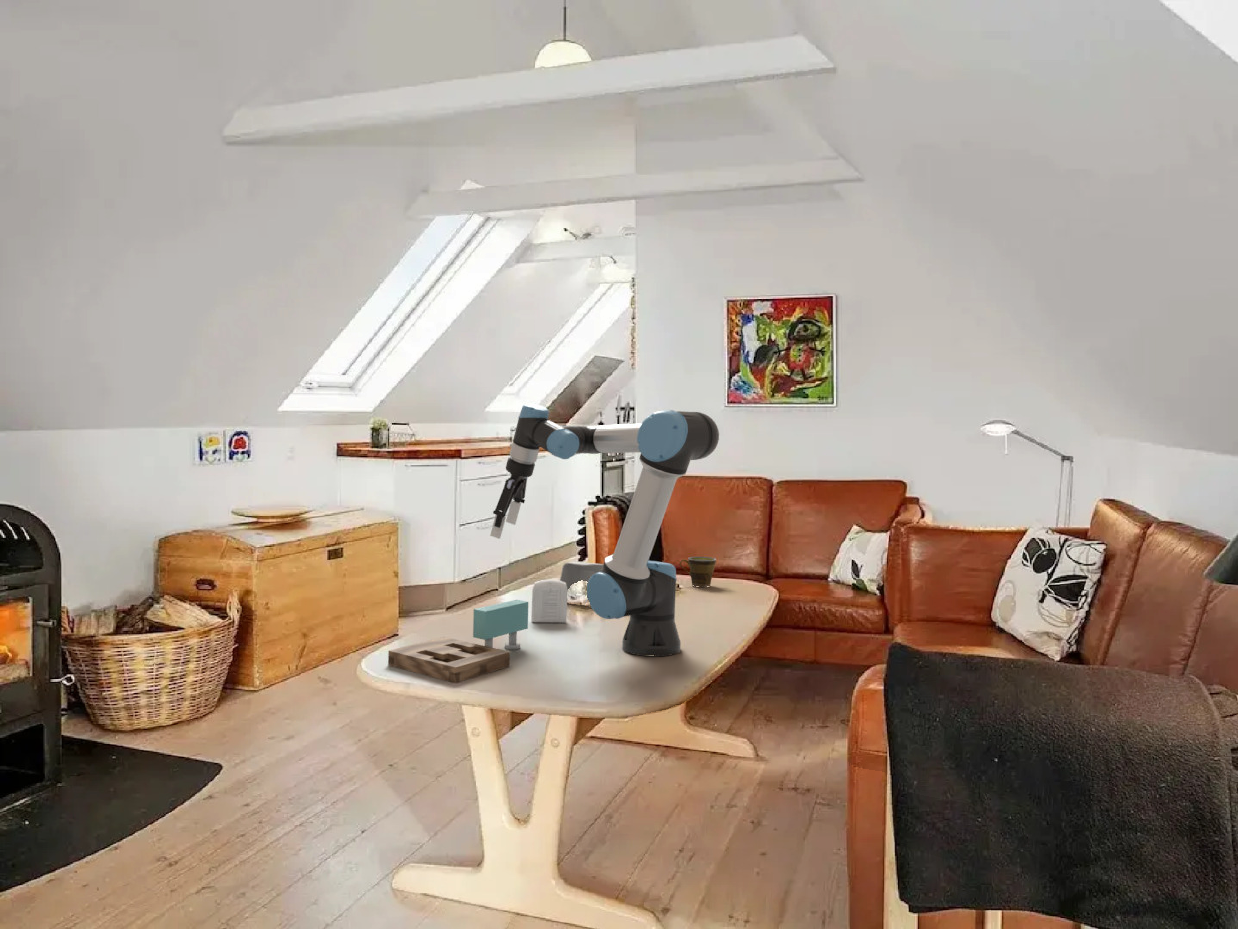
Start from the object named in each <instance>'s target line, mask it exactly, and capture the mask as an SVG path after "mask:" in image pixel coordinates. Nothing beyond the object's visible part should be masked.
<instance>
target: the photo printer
mask: <svg viewBox="0 0 1238 929" xmlns="http://www.w3.org/2000/svg"><path fill="white" fill-rule="evenodd" d="M531 593H532V595H531V596H532V598H531V615H530V616H531V617H530V618H531V620H530V621H531V622H532V623H561V624H562V623H566V622H567V613H568V612H567V611H568V604H567V586H566V583H565V582H562V581H560V579H559V580H558V579H542V580H537V581H534V583H533V586H532V591H531Z"/></svg>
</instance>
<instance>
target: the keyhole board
mask: <svg viewBox="0 0 1238 929" xmlns="http://www.w3.org/2000/svg"><path fill="white" fill-rule="evenodd" d="M510 655H511V654H510V650H503V649H499V648H496V647H493V648H491V647H487V646H485V645H482V644H478V643H473V642H468V641H463V640H459V639H455V638H450V637H448V636H447V637H446V636H442V637H438V638H433V639H430V640H425V641H422V642H418V643H414V644H410V645H406V646H400V647H398V648H397V647H396V648H393V649H390V650H388V655H387V656H388V657H387V660H388V661H387V662H388V663H387V665H388V666H389V665H390V667H393V668H398V669H401V670H404V669H405V671H408V670H409V671H408V672H413V673H417V674H420V675H424V676H427V677H430V678H435V679H439V680H442V681H445V682H449V683H450V682H451V683H454V684H457V683H459V682H463V681H466V680H469V679H473V678H476V677H479V676H482V675H486V674H488V673H492V672H495V671H498V670H501V669H506V668H508V667H510V664H511V663H510V658H511V656H510Z"/></svg>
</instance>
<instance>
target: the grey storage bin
mask: <svg viewBox="0 0 1238 929" xmlns="http://www.w3.org/2000/svg"><path fill="white" fill-rule="evenodd" d="M603 565H604V563H593V562H585V561H576V560H573V561H569V562H565V563H564V564H563V565H562V568H561V572H560V573H561V574H560V576H559V577H560V578H559V581H562V582H565V583H566V586H567V590H568V589H569V588H570V586H571V585H572V584H574V583H577V582H578V581H581V580H583V581H587V582H588V581H589V579H590V577H591V576H592V575H594V574H596V573H597V572H601V570H602V567H603Z"/></svg>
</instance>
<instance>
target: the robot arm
mask: <svg viewBox="0 0 1238 929" xmlns="http://www.w3.org/2000/svg"><path fill="white" fill-rule="evenodd" d="M549 415H550V410H549V409H548V408H547V407H545V406H543V405H540V404H537V403H532V402H531V403H530V402H528V403H524V404H523V405H522V407H521V408H520V412H519V415H518V419H517V424H516V428H515V432H514V436H513V439H512V443H511V442H510V443H509V446H510V451H509V457H507V462H506V465H505V470H506V471H507V472H508V473H510V477H508V478H507V479H506V480H505V481H504V482H505V483H504V485H503V489H502V491H501V494H500V496H499V499H498V501H497V505H496V506H495V510H493V511H492V514H494V515H495V517H494V520H493V524H492V527H491V531H490V534H489V535H490V537H494V538H496V539H501V537H502V533H503V528H504V525H505V522H506V523H509V524H511V525H514V526H515V525H516V523H517V519H518V515H519V512H520V510H521V504H525V502H526V500H525V497H526V491H527V485H528V484H527V482H528V478H529V477H531V476H533V474H534V470H535V466H536V464H535V463H536V462H537V460H538V456H539V451H540V448H541V449H542V450H544V451H546V452H548V453H550V454H551V455H552V456H554V457H556V458H559V459H561V460H568V459H570V458H571V457H574V456H575V455H576V454H590V455H591V454H593V455H595V454H597V455H598V454H614V453H615V454H616V453H617V454H618V453H622V454H623V453H624V454H626V453H627V454H628V453H629V454H630V453H632V454H633V453H640V455H639V459H638V460H639V462H640V463H641V465H642V469H641V471H640V475H639V478H638V481H637V483H636V486H635V489H634V493H633V496H632V498H631V501H630V504H629V506H628V507H629V508H628V510H627V513H626V517H625V519H624V523H623V524H622V528H621V531H620V534H619V538H618V539H617V543H616V545H615V549H614V550H613V551H614V552H613V553H612V554H611V555H610V554H609V555H608V556H606V557H605V558H604V562H603V564H604V565H603V567H602V570H601V572H597V573H596V574H594V575H592V576H591V577H590V579H589V581H588V583H587V598H588V600H589V602H590V606H591V607H590V608H591V609H592V610H593V611H594V613H595V614H596V615H598V616H599V617H600V618H602V619H605V620H612V619H613V620H614V619H615V620H616V619H617V620H619V619H621V618H623V617H629V620H628V624H627V627H626V628H625V632H624V635H623V637H622V645H621V646H622V647H621V648H622V650H623V651H624V650H625V651H624V652H626V651H628V652H627V653H629V652H630V653H629V654H632V653H634V654H633V655H636V654H639V655H638V656H643V655H654V656H653V657H663V656H662V655H668V656H671V655H670V654H673V655H676V654H679V653H680V652H681V643H682V642H681V640H680V636H679V632H678V629H677V628H678V627H677V625H676V621H675V618H676V616H675V615H676V614H675V613H676V590H677V589H676V588H677V580H678V579H677V569H676V566H675V565H673V564H672V563H669V562H663V561H662V562H661V561H657V560H650V557H651V554H652V551H653V549H654V546H655V543H656V540H657V536H658V534H659V531H660V529H661V525H662V523H663V520H664V518H665V517H664V516H665V515H666V514H665V513H666V511H667V508H668V505H669V503H670V501H671V497H672V494H673V491H674V488H675V485H676V483H677V481H678V478H681V477H683V476H685V475H686V473H687V471H688V468H689V465H690V462H691V461H697V460H702V459H704V458H707V457H708V456H710V455H711V454H712V453H713V452H715V449H716V448H717V447H718V443H719V440H720V432H719V428H718V425H717V424H716V422H715V420H713V418H712V417H710V416H709V415H708V414H706V413H704V412H699V411H681V410H680V411H679V410H677V411H676V410H673V409H668V410H660V411H655V412H652V413H651V414H650V415H648V416H647V417H645V418H644V419H643V421H642V422H641V423H628V424H626V423H625V424H607V425H561V424H557V423H555V422H553V421H552V420H550V419H549V417H550V416H549ZM507 512H508V513H507ZM506 514H507V515H506ZM679 651H680V652H679ZM675 653H676V654H675Z"/></svg>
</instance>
